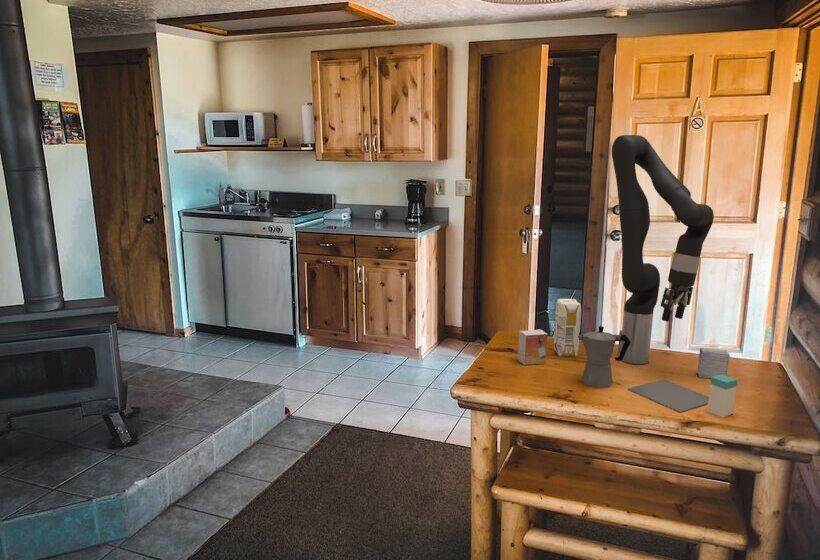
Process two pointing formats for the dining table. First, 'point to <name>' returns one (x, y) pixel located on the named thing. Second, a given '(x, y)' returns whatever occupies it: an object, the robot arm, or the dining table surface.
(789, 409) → the dining table surface
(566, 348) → the juice carton
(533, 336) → the small box
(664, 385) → the board
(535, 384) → the dining table surface
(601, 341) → the coffeepot
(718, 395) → the block
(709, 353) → the medicine box
